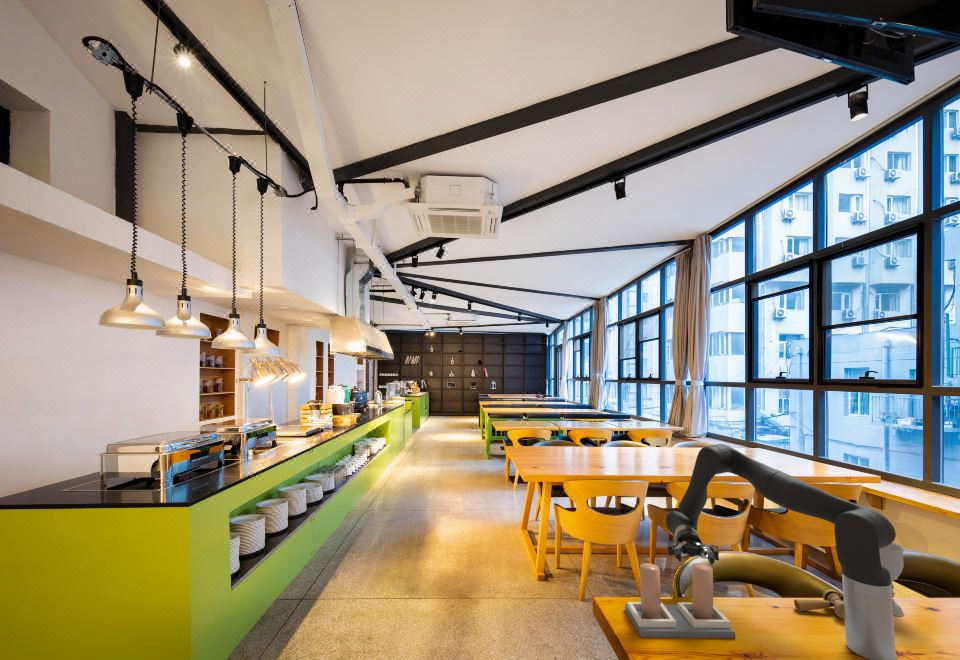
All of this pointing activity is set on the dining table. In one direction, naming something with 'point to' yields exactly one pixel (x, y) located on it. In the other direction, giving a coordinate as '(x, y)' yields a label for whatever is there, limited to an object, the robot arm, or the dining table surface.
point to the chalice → (893, 568)
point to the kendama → (823, 603)
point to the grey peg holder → (671, 613)
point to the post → (702, 591)
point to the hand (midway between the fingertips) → (695, 559)
